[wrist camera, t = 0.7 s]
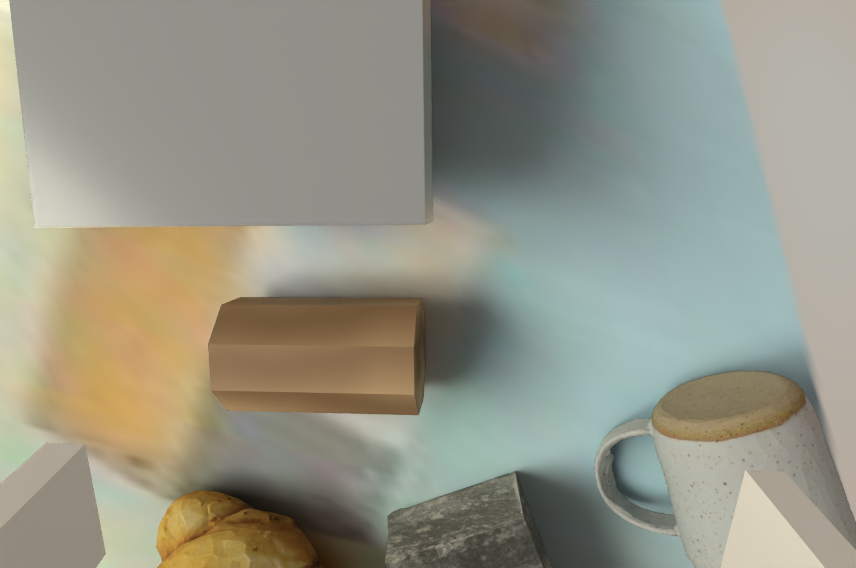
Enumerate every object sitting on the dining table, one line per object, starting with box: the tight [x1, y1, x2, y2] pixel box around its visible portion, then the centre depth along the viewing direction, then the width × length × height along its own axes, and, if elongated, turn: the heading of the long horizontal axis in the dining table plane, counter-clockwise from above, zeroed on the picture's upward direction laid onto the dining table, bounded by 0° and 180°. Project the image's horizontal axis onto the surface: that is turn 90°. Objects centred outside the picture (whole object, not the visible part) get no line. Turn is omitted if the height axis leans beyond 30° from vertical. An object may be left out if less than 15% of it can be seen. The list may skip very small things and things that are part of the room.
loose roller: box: [208, 297, 426, 415], centre depth 30 cm, size 6×10×6 cm, turn 91°
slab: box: [9, 0, 433, 228], centre depth 23 cm, size 14×16×4 cm
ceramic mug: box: [594, 371, 856, 568], centre depth 28 cm, size 11×8×8 cm
